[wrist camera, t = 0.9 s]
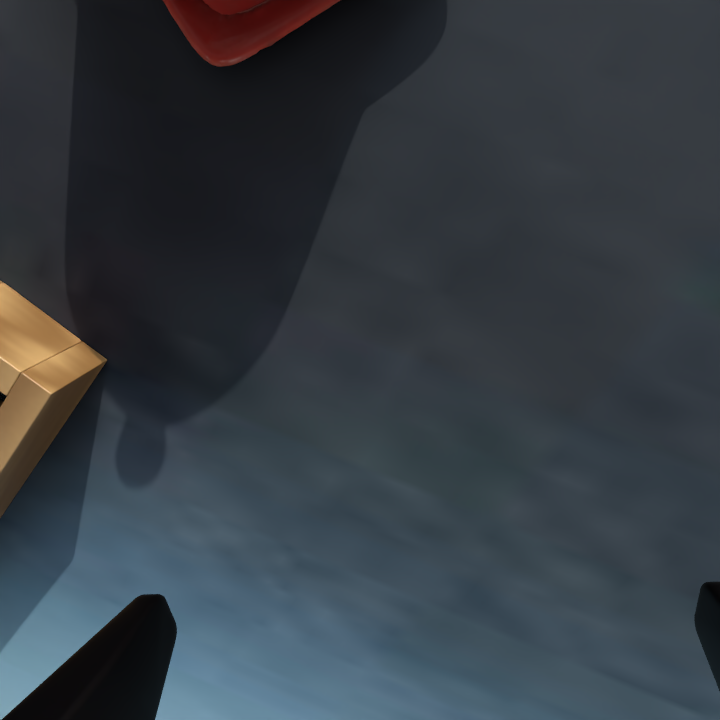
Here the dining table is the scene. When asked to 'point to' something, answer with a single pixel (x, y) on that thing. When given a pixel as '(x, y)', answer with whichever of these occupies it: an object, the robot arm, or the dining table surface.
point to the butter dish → (240, 24)
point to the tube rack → (35, 386)
